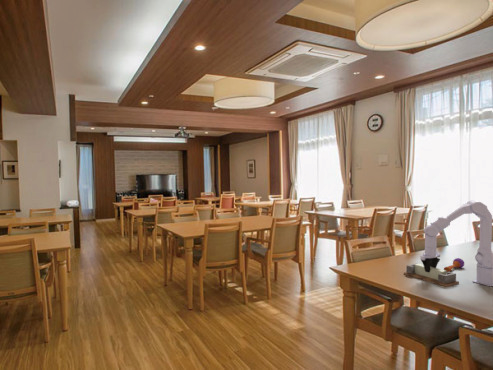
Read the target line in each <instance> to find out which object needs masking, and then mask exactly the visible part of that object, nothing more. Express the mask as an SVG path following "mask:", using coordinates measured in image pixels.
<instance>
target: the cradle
mask: <svg viewBox="0 0 493 370" xmlns="http://www.w3.org/2000/svg"><path fill="white" fill-rule="evenodd" d="M415 264H416V263H412V264H407V265H406V271H404V272H403V275H406V276H409V277H412V278H416V279H419V280H423V281H426V282H429V283H432V284H435V285H438V286H442V287H445V288H447V287H451V286H455V285H458V284H460V281H459V280H457V273H454V272H451V271H450V272H447V275H443V274H438V280H436V279H433V278H429V277H426V276H423V275H419V274H416V273H415Z"/></svg>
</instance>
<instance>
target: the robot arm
mask: <svg viewBox="0 0 493 370" xmlns="http://www.w3.org/2000/svg"><path fill="white" fill-rule="evenodd" d="M468 214H470V215H471V214H474V215H475V216H477V217H478V218H479V243H478V244H479V245H478V249H477V252H476V254H475V256H474V259H475V261H476V262H477V263H476V279H475V280H472V282H473V283H475V284H480V285H484V286H488V287H491V286H493V250H492V235H493V233H492V231H493V215H492V214H491V212H490V210H489V209H488V206H487V205H486V204H484V203H483V202H481V201H475V200H469V201H467V202H466V203H463V204H462V205H460V207H458V208H456V209H455V210H454V211H452V212H451V213H450V214H449V215H448V214H447V216H440V217H437V219H436V220H435V221H433V222H431V223H430V224H429V225H426V226H425V227H424V228H423V232H424V253H422V255H420V256H419V257H420V258H419V259H420V261H421V263H422V265H424V269H425V272H430V267H434V268H437V266H438V264H439V262H440V260H441V259H440V258H441V253H439V252H437V248H438V247H437V245H438V244H437V243H438V242H437V236H438V235H439V233H440V232H441V231H442V232H443V230H445V229H446V228H448V227H450V225H451V222H453V221H455V220H456V219H457V218H460V217H461V216H464V215H468Z"/></svg>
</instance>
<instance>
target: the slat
mask: <svg viewBox="0 0 493 370" xmlns="http://www.w3.org/2000/svg"><path fill="white" fill-rule="evenodd" d="M414 264H415V273H416V274H419V275H423V276H426V277H429V278H433V279H436V280H438V274H443V275H447V271H445V270H444V269H442V268H437V267H436V268H434V267H430V272H425V269H424V265H423V263H422V264H421V263H414Z"/></svg>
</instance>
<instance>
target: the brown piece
mask: <svg viewBox="0 0 493 370" xmlns="http://www.w3.org/2000/svg"><path fill="white" fill-rule="evenodd" d="M464 266H465V261H464V260H463V258H459V257H457V258H456V257H455V258H454V259H453V261H452V265H449V266H445V267H444V268H443V270H445V271H447V272H451V271H452V270H453V269H454V268H457V269H458V268H459V269H462V268H463V267H464Z"/></svg>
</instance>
